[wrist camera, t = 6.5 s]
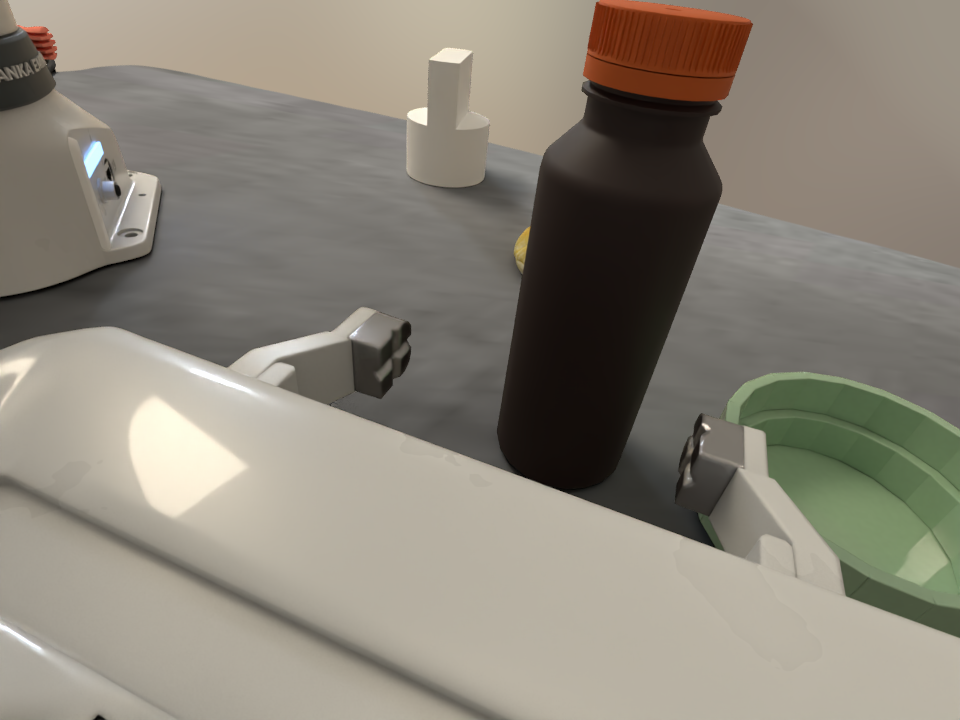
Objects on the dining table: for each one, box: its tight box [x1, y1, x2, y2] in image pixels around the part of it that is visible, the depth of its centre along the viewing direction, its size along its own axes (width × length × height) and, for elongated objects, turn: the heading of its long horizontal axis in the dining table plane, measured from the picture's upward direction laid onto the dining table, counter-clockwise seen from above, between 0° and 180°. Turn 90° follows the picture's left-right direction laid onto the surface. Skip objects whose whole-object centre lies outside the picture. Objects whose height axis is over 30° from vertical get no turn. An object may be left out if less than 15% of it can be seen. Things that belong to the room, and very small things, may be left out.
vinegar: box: [497, 0, 753, 489], centre depth 23 cm, size 7×7×20 cm
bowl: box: [698, 372, 960, 638], centre depth 24 cm, size 13×13×5 cm
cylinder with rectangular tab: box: [407, 48, 490, 187], centre depth 58 cm, size 9×9×12 cm
